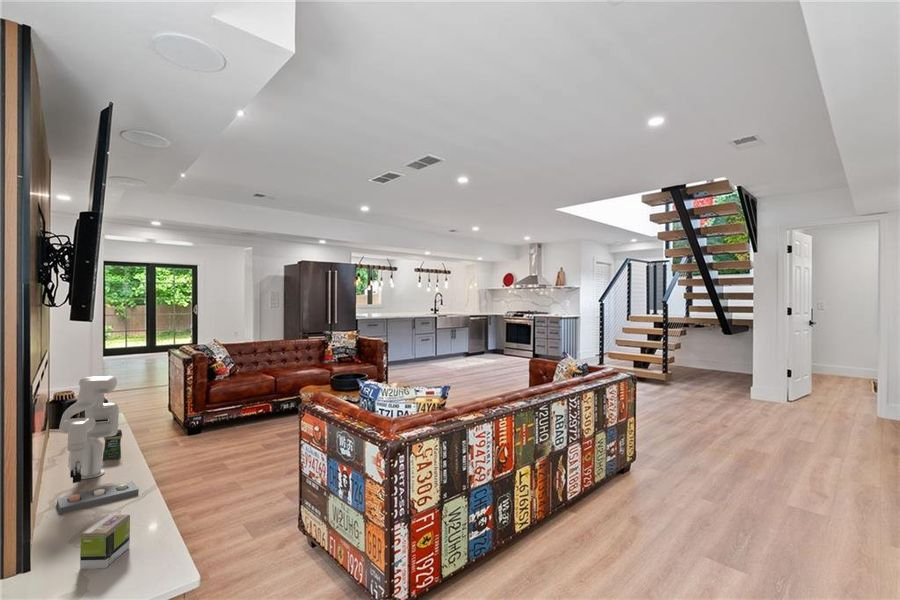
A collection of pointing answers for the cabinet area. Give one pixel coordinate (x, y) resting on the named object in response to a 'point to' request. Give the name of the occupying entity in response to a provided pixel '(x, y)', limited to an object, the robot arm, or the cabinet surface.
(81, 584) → the cabinet surface
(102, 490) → the cream button
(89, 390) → the robot arm
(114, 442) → the green snack bag
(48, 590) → the cabinet surface
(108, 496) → the button panel
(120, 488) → the sage button
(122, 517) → the tea box
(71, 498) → the terracotta button
